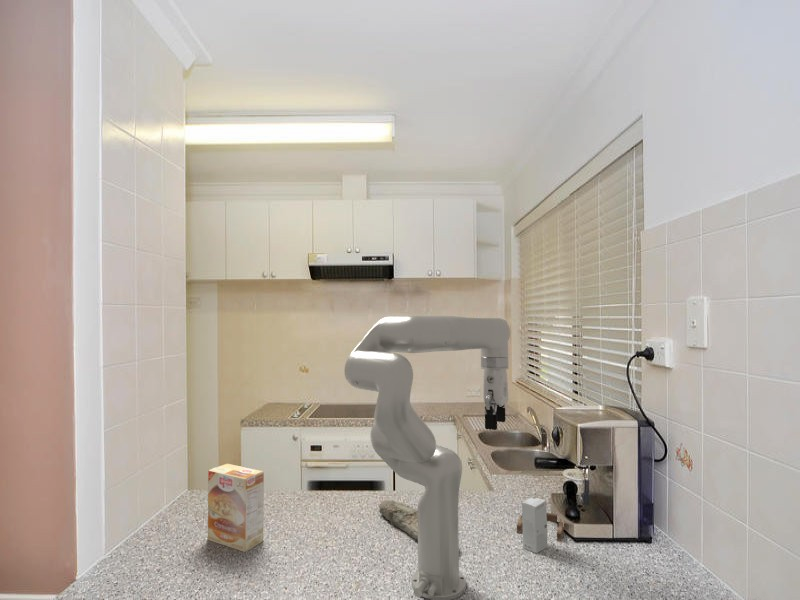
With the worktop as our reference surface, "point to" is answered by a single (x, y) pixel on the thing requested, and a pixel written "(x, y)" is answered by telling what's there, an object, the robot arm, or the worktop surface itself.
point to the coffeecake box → (235, 506)
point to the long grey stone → (401, 516)
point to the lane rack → (550, 517)
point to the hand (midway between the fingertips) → (495, 425)
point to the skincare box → (534, 524)
